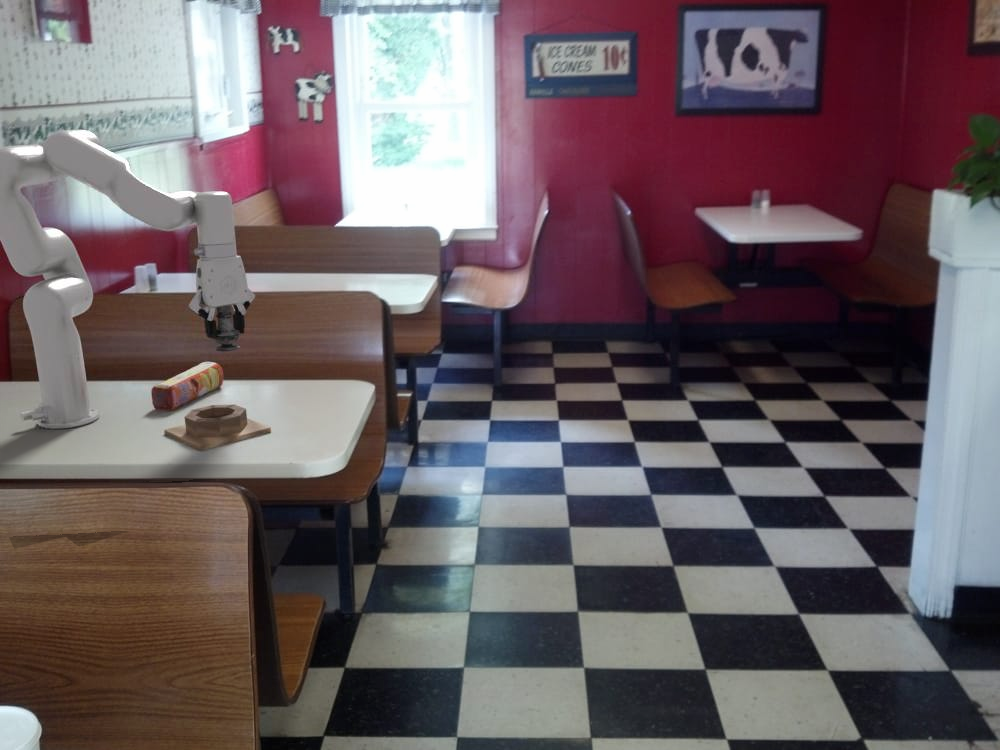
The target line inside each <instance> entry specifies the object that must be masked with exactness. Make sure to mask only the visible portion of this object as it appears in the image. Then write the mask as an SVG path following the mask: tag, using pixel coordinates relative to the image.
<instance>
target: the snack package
mask: <svg viewBox="0 0 1000 750" xmlns="http://www.w3.org/2000/svg"><path fill="white" fill-rule="evenodd" d="M223 383H224V370H223V368H222V366H221V365H220V364H219V363H217V362H212V361H203V362H200V363H199V364H197V365H195V366H193V367H191V368H190V369H187V370H186V371H184V372H181V373H179V374H177V375H175V376H172V377H171V378H168V379H167V380H165V381H163V382H161V383H159V384H158V383H157V384H155V385H154V386H153V387H152V388H151V402H152V405H153V408H154V409H155V410H156V411H162V412H164V411H165V412H168V411H169V412H170V411H171V412H172V411H173V410H175V409H178V407H181V406H183V405H185V404H187V402H188V403H190V402H191V401H193V400H195V399H198V398H200V397H202V396H203V395H206V394H208V393H210V392H212V391H214V390H217V389H219V388H221V387H222V385H223Z"/></svg>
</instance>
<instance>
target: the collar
mask: <svg viewBox="0 0 1000 750" xmlns="http://www.w3.org/2000/svg"><path fill="white" fill-rule="evenodd" d="M163 431H164V432H163V433H164V435H165V436H167V437H170V438H172V439H174V440H175V441H178V440H179V442H181V443H183V444H185V443H186V444H185V445H187V446H190V447H192V448H194V449H196V448H197V449H196V450H198V449H199V451H200V450H201V452H202V451H207V450H210V449H214V448H217V447H220V446H225V445H228V444H232V443H235V442H240V441H243V440H247V439H250V438H253V436H254V437H257V435H258V436H261V435H265V434H269V433H271V432H272V429H271V427H270V426H268V425H265V424H262V423H260V422H258V421H255V420H252V419H250V418H248V415H247V408H245V407H243V406H239V405H238V404H211V405H206V406H202V407H199V408H195V409H191V410H190V411H189V412H187V414H186V415H185V416H184V424H182V425H178V426H174V427H169V428H166V429H164V430H163ZM246 438H247V439H246ZM224 444H225V445H224ZM209 448H210V449H209Z"/></svg>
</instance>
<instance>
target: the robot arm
mask: <svg viewBox="0 0 1000 750" xmlns="http://www.w3.org/2000/svg"><path fill="white" fill-rule="evenodd" d="M68 177H70V178H72V179H74V180H76V181H77V182H80V183H82V184H84V185H86V186H88V187H89V188H92V189H93V190H95V191H98V192H99V193H101V194H103V195H105V196H106V197H108V199H110V201H111V202H112V203H113V204H114V205H116V206H117V207H118V208H119V209H120V210H121V211H123V213H126V214H127V215H129V216H130V217H132V218H134V219H136V220H138V221H140V222H142V223H144V224H145V225H147V226H150V227H151V228H154V229H157V230H160V231H164V232H173V231H177V230H178V229H182V228H187V227H191V226H195V225H196V230H197V241H198V244H197V248H193V249H194V250H193V253H194V255H195V256H198V257H199V259H197V262H196V271H195V288H196V289H195V290H196V293H195V294H194V296H193V298H191V301H190V302H189V304H188V308H190V309H191V310H192V311H194V312H195V313H196V315H198V316H199V317H200V318H201V319H202V320H204V322H203V323H204V330H205V334H206V337H207V338H208V339H213V340H215V339H217V328H218V325H217V321H216V319H214V316H215V313H216V310H217V307H223V306H228V305H230V306H232V308H233V311H234V313H232V314H233V315H232V324H233V327H234V328H235V329H236V330H239V331H240V333H239V334H244V333H245V328H246V326H245V323H246V322H245V315H246V314H247V310H248V309H249V307H250V305H251V303H252V302H253V301H254V299H255V298H256V294H255V293H254V292H253V291H252V290H251V289H250V288H249V286H248V281H247V275H246V269H245V267H244V262H243V260H242V257H241V255H238V252H237V242H236V231H235V221H234V220H235V219H234V211H233V209H234V208H233V201H232V200H233V199H232V196H231V195H230V193H228V192H226V191H220V190H219V191H218V190H217V191H203V192H199V191H193V190H192V191H190V190H176V191H171V192H162V191H161V190H159V189H157V188H155V187H153V186H151V185H149V184H147V183H145V182H143V181H142V180H140V179H139V178H137V177H136V175H134V174H133V173H132V171H131V164H130V162H129V161H128V160H127V159H125V158H124V157H122V156H120V155H118V154H116V153H114V152H112V151H110V150H108V149H106V148H105V147H104V145H103V142H102V141H101V139H100V138H99V137H98V136H96V134H95V133H93V132H91V131H89V130H86V129H67V130H66V129H62V130H57V131H55V132H53V133H51V134H50V135H48V136H47V138H46V139H45V140H43V141H41V142H37V143H32V144H21V145H19V144H17V145H9V146H8V145H7V146H3V147H0V243H1V244H2V247H3V249H4V251H5V252H4V253H6V256H7V258H8V262H9V263H10V265H11V266H12V268H13V270H15V272H16V273H18V274H19V275H21V276H23V277H29V278H30V277H35V276H36V277H37V276H41V275H42V277H43V278H44V280H40V281H39V282H37V283H34V284H33V285H32V286H31V287H29V289H28V290H27V291H26V292H25V294H24V297H23V301H22V308H23V313H24V316H25V319H26V322H27V324H28V329H29V331H30V335H31V339H32V344H33V345H32V346H33V348H34V349H33V350H34V357H35V362H36V369H37V375H38V381H39V388H40V395H41V399H42V401H41V403H38V407H35V409H34V410H27V411H26V410H25V411H22V412H20V419H21V421H22V422H25V421H29V420H31V421H32V422H35V421H37V425H38V426H39V427H40V426H41V428H43V427H44V429H49V428H50V429H53V430H54V429H56V430H59V429H68V428H75V427H80V426H83V425H87V424H90V423H92V422H94V421H96V420H97V419H99V417H100V413H99V410H97V408H92V407H91V403H90V396H89V395H90V394H89V391H88V382H87V376H86V368H85V361H84V356H83V354H84V353H83V347H82V341H81V337H80V334H79V331H78V329H77V326H76V325H75V322H74V320H73V318H74V317H77V316H79V315H81V314H83V313H85V312H86V311H88V310H89V309H90V307H91V306H92V304H93V299H94V291H93V288H92V284H91V282H90V278H89V277H88V275H87V272H86V270H85V268H84V265H83V263H82V261H81V259H80V258H81V257H80V256H79V254H78V251H77V249H76V247H75V244H74V243H73V241H72V240H71V239H70V237H69V236H68V235H67V234H66V233H65V232H63V231H62V230H60V229H58V228H54V227H49V226H48V227H46V226H45V227H42V225H41V223H40V221H39V219H38V217H37V215H36V214H37V213H36V212H35V210H34V208H33V206H32V204H31V203H30V201H29V200H28V199H27V197H25V196H24V194H23V193H22V191H21V189H22V188H23V187H31V186H36V185H42V184H47V183H50V182H54V181H57V180H60V179H61V180H62V179H64V178H68ZM200 305H201V306H203V308H202V307H201V306H200Z"/></svg>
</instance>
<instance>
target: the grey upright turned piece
mask: <svg viewBox="0 0 1000 750" xmlns="http://www.w3.org/2000/svg"><path fill="white" fill-rule="evenodd" d="M231 309H232V308H231V305H228V306H223V307H216V314H215V317H216V318H217V339H214V341H215V343H217V344H218V346H217V345H216V347H215V348H214V350H215V352H232V351H236V350H239V349H240V348H241V346H240V345H238V344H237V343H236V342H238V340H239V337H240V334H241V333H240V331H239V330H236V329H235V328H234V326H233V314H234V313H232V311H231Z"/></svg>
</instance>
